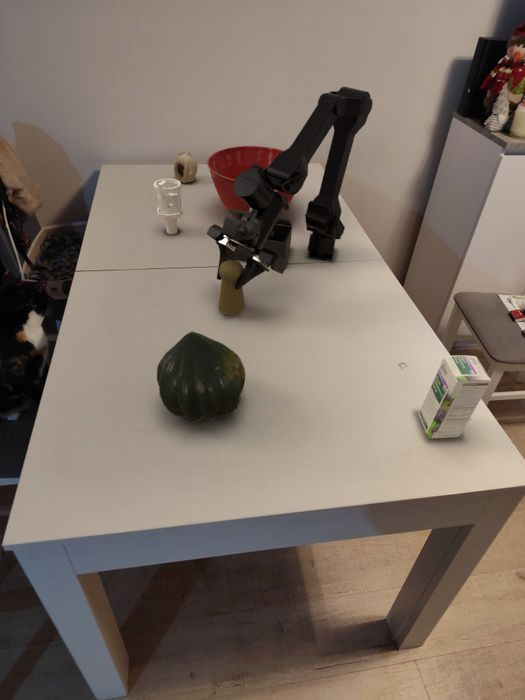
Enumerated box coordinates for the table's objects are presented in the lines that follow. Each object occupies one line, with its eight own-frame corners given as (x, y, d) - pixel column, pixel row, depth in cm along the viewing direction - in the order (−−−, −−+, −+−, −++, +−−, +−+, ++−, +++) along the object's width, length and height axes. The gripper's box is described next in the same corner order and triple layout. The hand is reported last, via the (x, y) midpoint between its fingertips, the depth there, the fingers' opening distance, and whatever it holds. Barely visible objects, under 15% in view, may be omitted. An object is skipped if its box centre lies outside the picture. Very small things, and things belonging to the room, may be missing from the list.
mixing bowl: (319, 220, 136) (326, 169, 126) (240, 243, 124) (241, 189, 113) (266, 187, 153) (269, 140, 143) (192, 205, 140) (189, 154, 130)
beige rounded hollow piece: (177, 183, 158) (171, 153, 154) (201, 179, 158) (195, 149, 154) (174, 185, 149) (167, 153, 145) (199, 181, 149) (193, 149, 145)
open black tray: (283, 267, 115) (286, 243, 111) (229, 258, 117) (229, 235, 113) (290, 249, 122) (292, 226, 118) (238, 241, 124) (238, 219, 120)
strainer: (154, 234, 125) (147, 181, 115) (167, 223, 130) (162, 172, 120) (176, 239, 124) (171, 186, 114) (189, 229, 128) (185, 177, 118)
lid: (288, 220, 107) (291, 200, 107) (230, 212, 109) (232, 193, 109) (292, 226, 118) (295, 208, 117) (238, 218, 119) (241, 201, 119)
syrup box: (416, 413, 80) (441, 354, 71) (447, 412, 81) (477, 354, 71) (427, 439, 76) (456, 380, 66) (460, 438, 77) (493, 379, 67)
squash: (229, 433, 69) (241, 336, 68) (137, 419, 70) (148, 325, 70) (244, 419, 83) (254, 339, 83) (168, 408, 85) (177, 330, 84)
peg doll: (241, 316, 97) (241, 273, 90) (215, 312, 98) (213, 269, 91) (247, 300, 102) (248, 258, 94) (222, 296, 102) (221, 254, 95)
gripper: (210, 187, 91) (174, 254, 92) (281, 216, 82) (241, 291, 83) (237, 211, 101) (204, 272, 102) (303, 239, 92) (266, 306, 93)
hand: (226, 284), depth 95 cm, fingers closed on peg doll, 5 cm apart
